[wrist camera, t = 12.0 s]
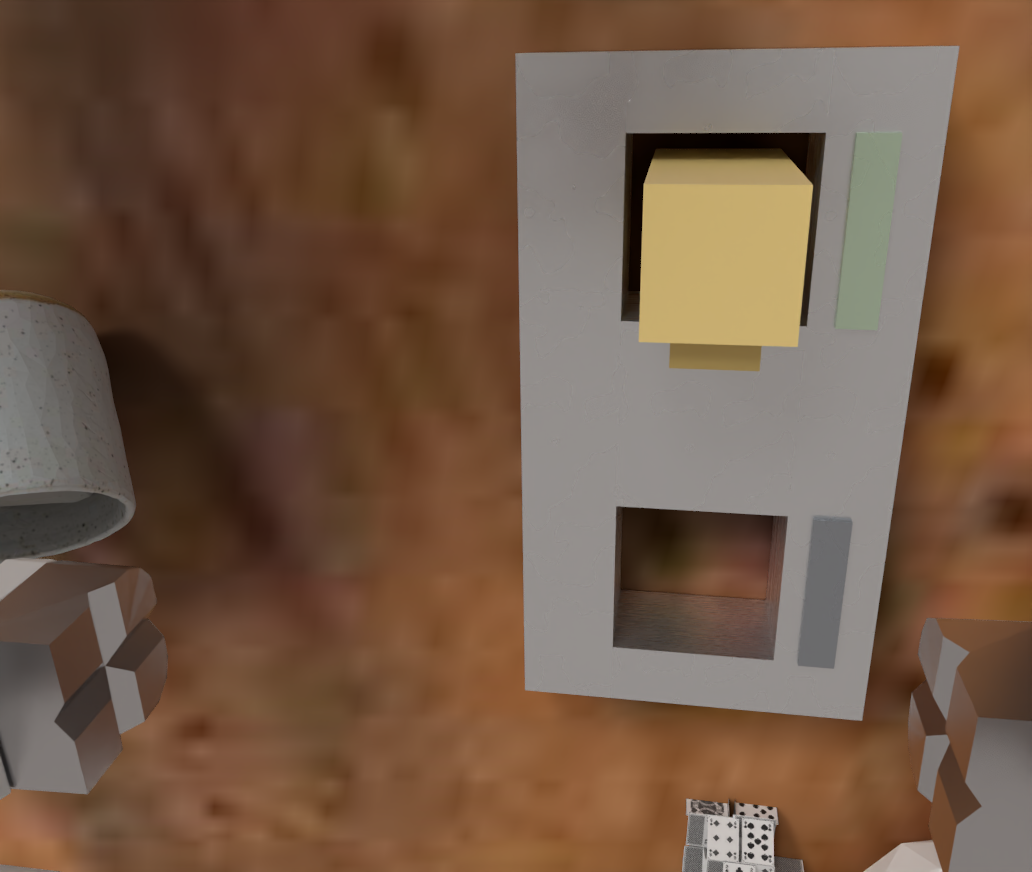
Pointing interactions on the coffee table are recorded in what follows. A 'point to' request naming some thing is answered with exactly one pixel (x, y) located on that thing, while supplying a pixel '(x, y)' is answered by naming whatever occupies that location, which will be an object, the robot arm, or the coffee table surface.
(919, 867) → the geometric ball
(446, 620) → the coffee table surface
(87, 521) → the ceramic mug
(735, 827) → the house of cards
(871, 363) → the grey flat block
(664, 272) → the plug
